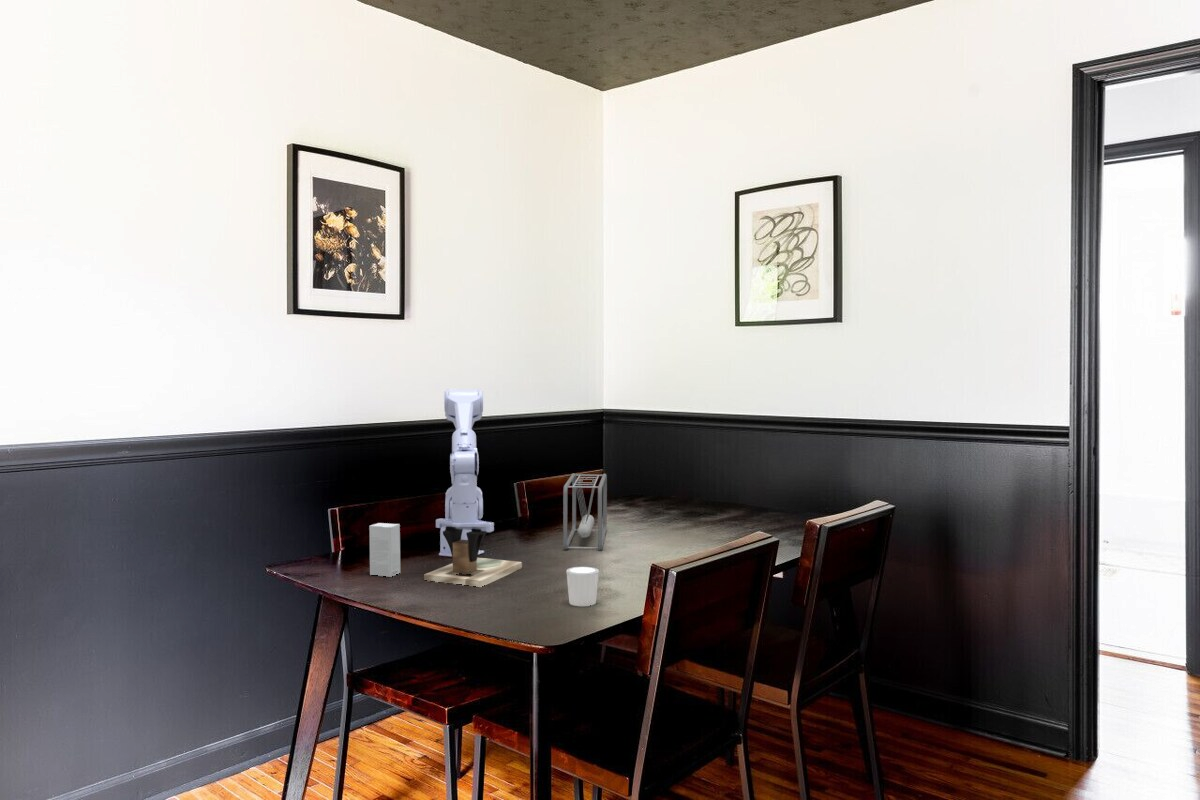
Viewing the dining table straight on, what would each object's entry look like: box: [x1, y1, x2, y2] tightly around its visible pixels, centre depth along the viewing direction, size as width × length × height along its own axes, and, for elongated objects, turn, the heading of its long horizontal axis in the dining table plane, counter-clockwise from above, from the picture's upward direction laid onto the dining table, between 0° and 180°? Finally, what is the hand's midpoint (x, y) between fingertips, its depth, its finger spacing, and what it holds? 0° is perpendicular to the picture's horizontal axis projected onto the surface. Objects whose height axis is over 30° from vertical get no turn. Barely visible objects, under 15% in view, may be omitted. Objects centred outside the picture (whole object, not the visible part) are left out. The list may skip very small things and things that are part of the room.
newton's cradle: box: [562, 472, 608, 551], centre depth 244 cm, size 30×10×18 cm, turn 177°
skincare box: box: [368, 522, 401, 578], centre depth 203 cm, size 6×4×12 cm
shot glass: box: [566, 566, 600, 607], centre depth 179 cm, size 7×7×7 cm
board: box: [423, 557, 523, 588], centre depth 203 cm, size 15×20×2 cm
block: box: [452, 539, 477, 575], centre depth 199 cm, size 4×4×7 cm
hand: (464, 560), depth 199 cm, fingers closed on block, 4 cm apart
